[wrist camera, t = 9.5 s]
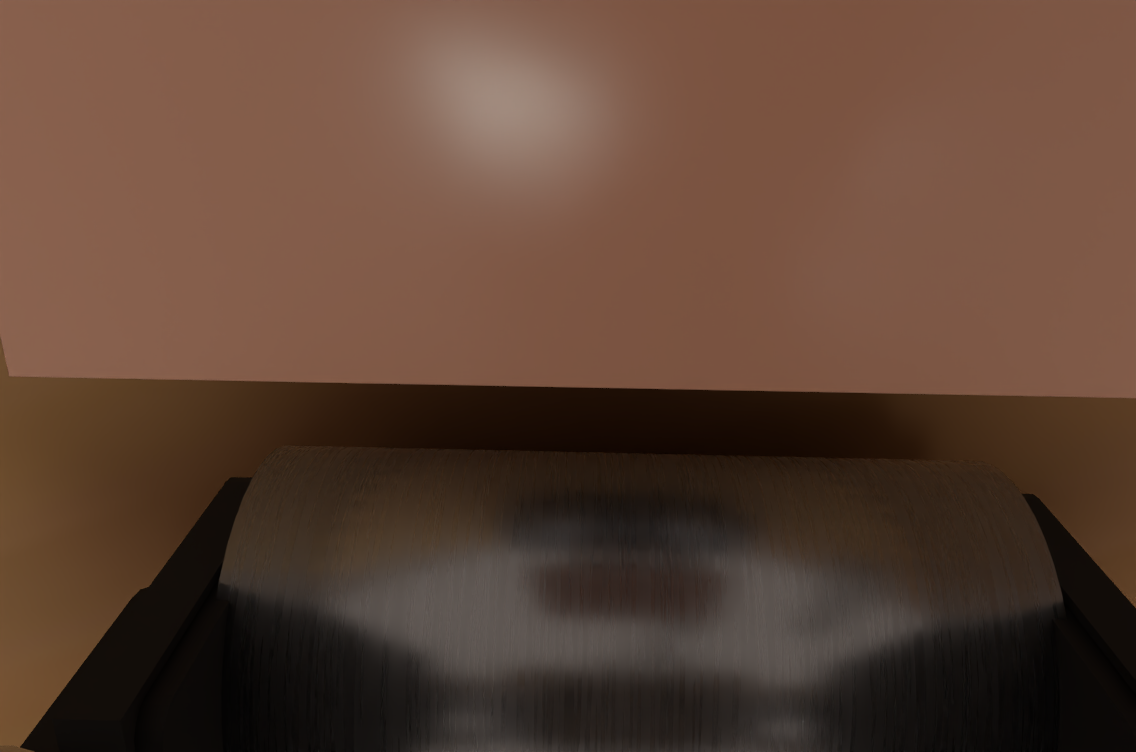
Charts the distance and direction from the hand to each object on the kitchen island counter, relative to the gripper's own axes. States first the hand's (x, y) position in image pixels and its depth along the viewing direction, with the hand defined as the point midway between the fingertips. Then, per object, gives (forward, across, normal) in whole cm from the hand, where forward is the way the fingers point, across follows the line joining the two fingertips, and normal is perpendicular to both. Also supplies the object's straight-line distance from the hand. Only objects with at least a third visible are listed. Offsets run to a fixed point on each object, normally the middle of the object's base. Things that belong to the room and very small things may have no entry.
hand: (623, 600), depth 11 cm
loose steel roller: (+1, 0, 0) cm, 1 cm away
